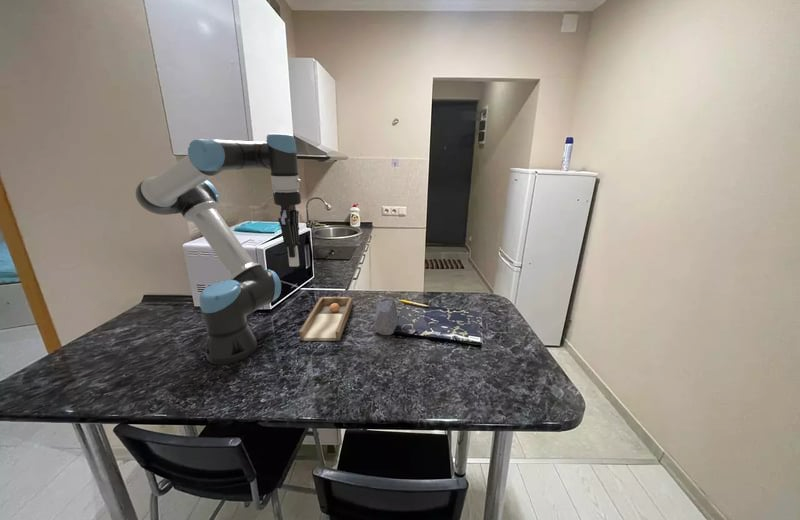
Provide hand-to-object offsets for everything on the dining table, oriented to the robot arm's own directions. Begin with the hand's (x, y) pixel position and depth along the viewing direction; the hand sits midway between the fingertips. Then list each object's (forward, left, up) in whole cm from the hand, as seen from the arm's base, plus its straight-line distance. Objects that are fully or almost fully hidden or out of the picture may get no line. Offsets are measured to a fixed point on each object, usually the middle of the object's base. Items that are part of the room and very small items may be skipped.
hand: (294, 265), depth 97 cm
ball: (+6, +22, -27) cm, 35 cm away
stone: (+28, +9, -29) cm, 41 cm away
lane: (+5, +15, -29) cm, 33 cm away
